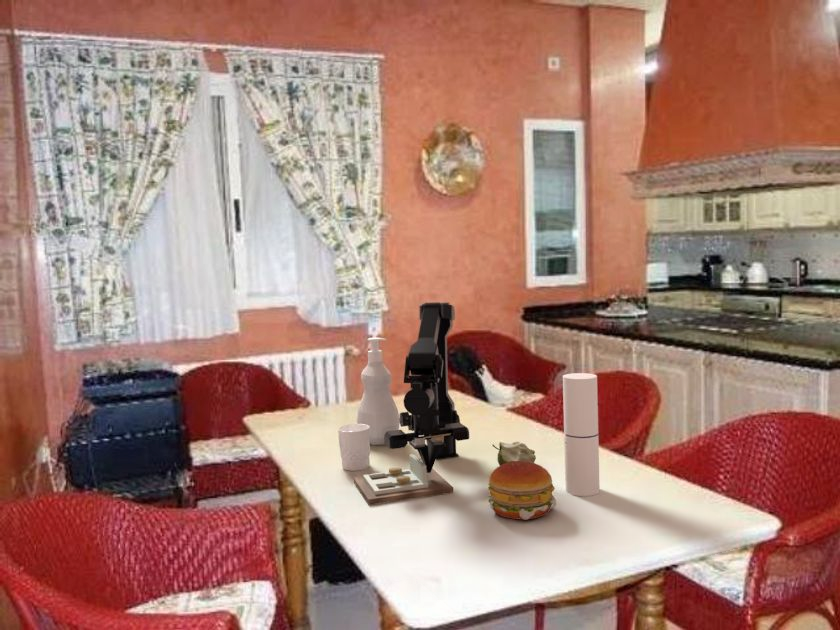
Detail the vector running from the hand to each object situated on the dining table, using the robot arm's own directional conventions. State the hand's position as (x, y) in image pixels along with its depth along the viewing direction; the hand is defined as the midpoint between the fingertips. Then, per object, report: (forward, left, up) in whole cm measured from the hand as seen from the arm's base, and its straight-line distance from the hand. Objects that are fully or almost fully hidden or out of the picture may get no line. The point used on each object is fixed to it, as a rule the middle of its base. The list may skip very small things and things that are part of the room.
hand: (428, 472), depth 162 cm
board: (+6, 0, -3) cm, 7 cm away
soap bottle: (+2, -41, -3) cm, 41 cm away
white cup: (+13, -20, -3) cm, 24 cm away
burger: (-12, +24, -3) cm, 27 cm away
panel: (+8, 0, -1) cm, 8 cm away
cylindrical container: (-29, +18, -3) cm, 34 cm away
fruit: (-22, -2, -3) cm, 23 cm away
